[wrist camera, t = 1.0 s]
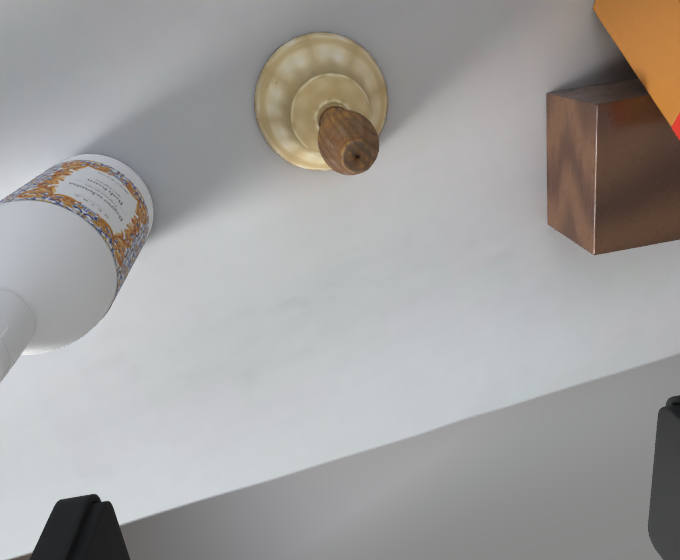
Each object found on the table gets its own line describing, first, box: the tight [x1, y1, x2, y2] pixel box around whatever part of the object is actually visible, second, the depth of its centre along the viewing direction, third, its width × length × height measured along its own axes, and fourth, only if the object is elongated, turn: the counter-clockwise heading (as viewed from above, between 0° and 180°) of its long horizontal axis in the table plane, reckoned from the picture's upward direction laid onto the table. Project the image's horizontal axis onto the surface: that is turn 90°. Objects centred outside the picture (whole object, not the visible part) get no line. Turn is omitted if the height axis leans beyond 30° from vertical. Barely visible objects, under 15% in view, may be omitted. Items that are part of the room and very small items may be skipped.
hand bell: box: [255, 32, 388, 175], centre depth 31 cm, size 8×8×16 cm
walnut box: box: [547, 78, 680, 255], centre depth 39 cm, size 9×13×6 cm
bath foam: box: [0, 154, 154, 382], centre depth 30 cm, size 7×7×20 cm
